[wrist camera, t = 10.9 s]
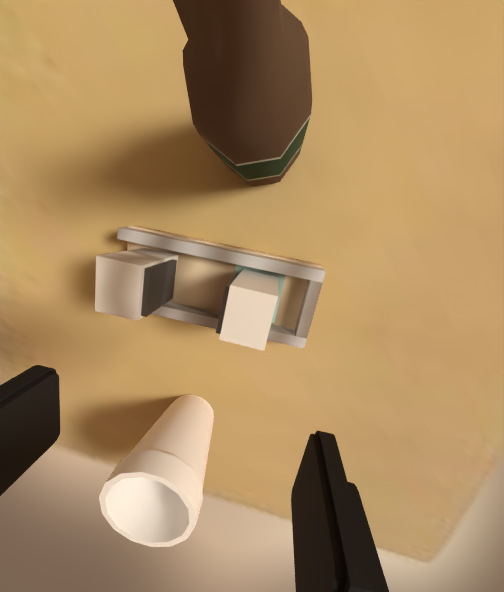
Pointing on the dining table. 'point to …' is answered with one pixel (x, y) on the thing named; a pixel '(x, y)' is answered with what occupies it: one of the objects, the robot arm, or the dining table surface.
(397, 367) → the dining table surface
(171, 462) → the foam cup
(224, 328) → the white foam block
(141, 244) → the finger rail
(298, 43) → the beer bottle
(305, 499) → the robot arm
